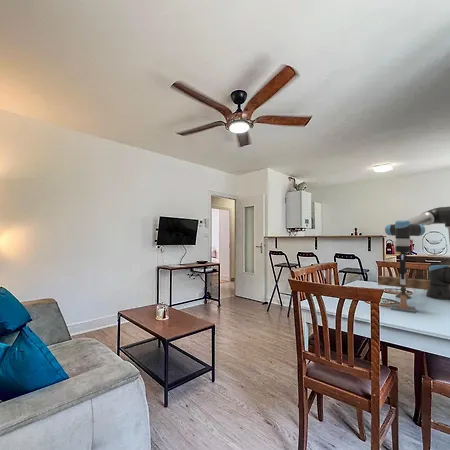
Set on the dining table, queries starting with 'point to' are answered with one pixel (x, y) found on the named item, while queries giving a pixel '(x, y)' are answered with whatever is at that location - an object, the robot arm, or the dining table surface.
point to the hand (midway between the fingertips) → (403, 283)
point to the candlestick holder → (403, 293)
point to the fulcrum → (403, 306)
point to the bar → (409, 282)
